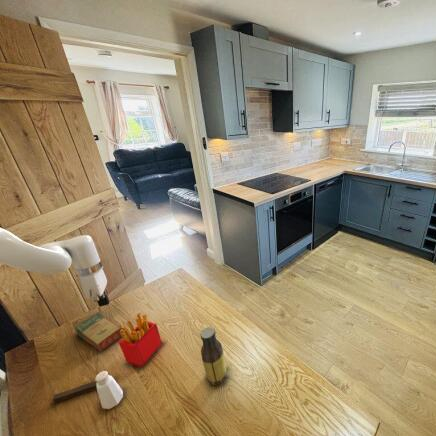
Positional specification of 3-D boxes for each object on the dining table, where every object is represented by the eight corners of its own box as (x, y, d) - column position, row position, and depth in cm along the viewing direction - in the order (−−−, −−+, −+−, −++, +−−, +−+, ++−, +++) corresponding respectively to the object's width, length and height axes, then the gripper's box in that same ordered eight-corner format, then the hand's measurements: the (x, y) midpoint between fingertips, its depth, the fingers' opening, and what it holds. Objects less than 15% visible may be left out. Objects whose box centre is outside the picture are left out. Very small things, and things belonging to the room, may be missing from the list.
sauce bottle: (227, 364, 80) (221, 321, 72) (226, 383, 74) (219, 339, 66) (207, 368, 78) (198, 324, 70) (205, 388, 73) (195, 343, 65)
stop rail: (54, 403, 68) (52, 399, 68) (57, 398, 70) (54, 394, 69) (112, 383, 74) (111, 380, 73) (113, 379, 75) (112, 375, 74)
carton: (100, 352, 83) (96, 344, 81) (77, 334, 89) (72, 326, 88) (125, 334, 90) (121, 326, 88) (101, 318, 96) (98, 311, 94)
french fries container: (125, 362, 80) (113, 332, 74) (147, 339, 88) (138, 311, 82) (142, 368, 78) (131, 338, 72) (163, 344, 86) (154, 315, 81)
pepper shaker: (107, 414, 66) (94, 389, 62) (97, 403, 69) (84, 379, 64) (127, 395, 71) (117, 371, 66) (117, 386, 73) (107, 362, 68)
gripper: (83, 259, 94) (98, 295, 101) (69, 282, 81) (87, 320, 89) (106, 255, 96) (119, 290, 104) (95, 276, 84) (111, 314, 92)
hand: (104, 304), depth 96 cm, fingers closed
